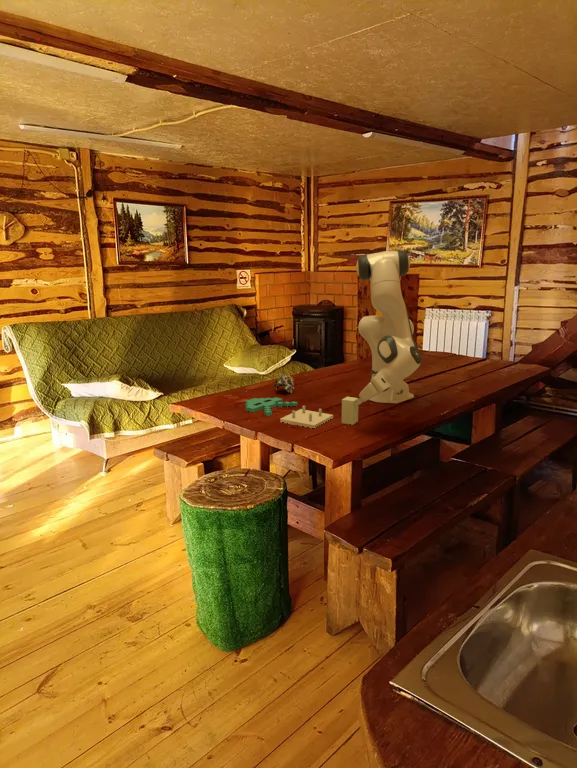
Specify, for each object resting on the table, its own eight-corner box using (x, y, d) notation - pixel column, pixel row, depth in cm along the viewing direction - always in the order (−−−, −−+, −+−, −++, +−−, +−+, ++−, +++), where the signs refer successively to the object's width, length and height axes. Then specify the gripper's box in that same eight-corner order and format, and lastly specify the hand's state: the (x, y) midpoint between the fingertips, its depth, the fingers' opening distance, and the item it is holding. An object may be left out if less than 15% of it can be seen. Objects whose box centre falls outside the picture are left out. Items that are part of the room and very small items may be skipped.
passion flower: (290, 403, 272) (291, 388, 263) (269, 398, 274) (269, 383, 265) (296, 386, 279) (297, 371, 270) (275, 381, 281) (276, 366, 272)
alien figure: (297, 406, 250) (264, 399, 262) (297, 402, 249) (264, 394, 261) (268, 417, 235) (235, 409, 247) (268, 412, 234) (234, 404, 246)
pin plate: (300, 412, 240) (300, 402, 239) (333, 418, 232) (333, 408, 230) (280, 422, 227) (280, 411, 226) (314, 428, 218) (314, 418, 217)
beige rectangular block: (347, 419, 230) (347, 396, 227) (357, 421, 227) (358, 398, 225) (341, 422, 226) (341, 399, 223) (352, 424, 223) (353, 401, 221)
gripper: (392, 368, 222) (369, 388, 230) (371, 378, 206) (347, 399, 213) (402, 380, 221) (378, 400, 229) (382, 391, 204) (357, 412, 212)
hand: (363, 399), depth 221 cm, fingers open, 8 cm apart
